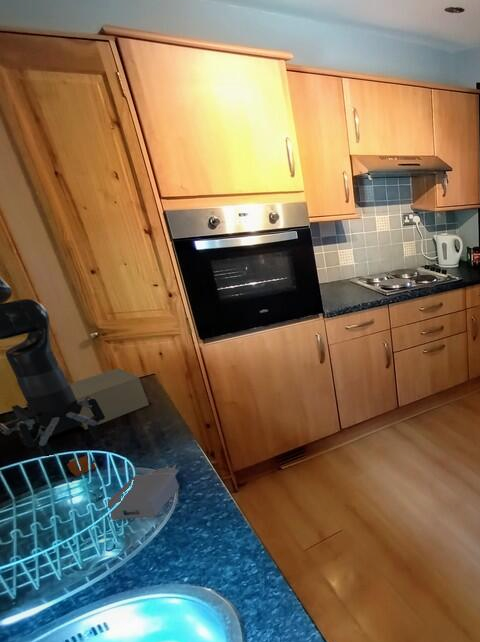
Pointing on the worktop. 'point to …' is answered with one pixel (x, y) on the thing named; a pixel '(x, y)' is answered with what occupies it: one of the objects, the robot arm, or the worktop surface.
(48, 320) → the robot arm
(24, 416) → the dark drawer with handle
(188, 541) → the worktop surface
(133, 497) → the charger
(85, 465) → the orange lobed block
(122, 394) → the grey sloped box
